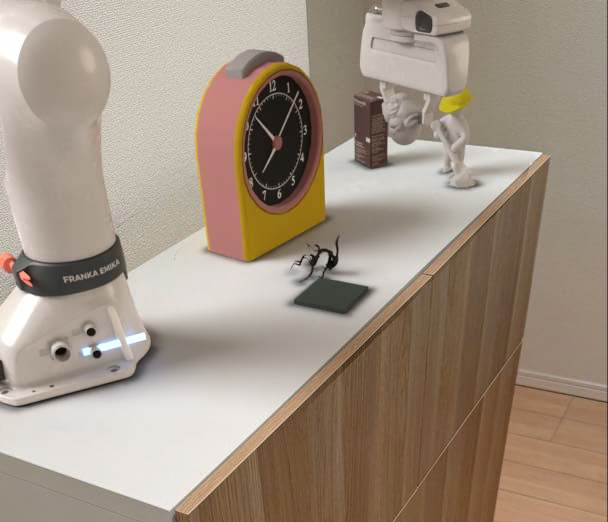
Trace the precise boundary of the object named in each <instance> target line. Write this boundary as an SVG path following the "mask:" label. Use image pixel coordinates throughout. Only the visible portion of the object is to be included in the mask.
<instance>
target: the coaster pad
mask: <svg viewBox="0 0 608 522" xmlns="http://www.w3.org/2000/svg"><path fill="white" fill-rule="evenodd" d="M321 277H322V276H320V277H318V278H317V279H316V280H315V281H314V282H313V283H311V284H310V285H309V286H308V287H307V288H306V289H305V290H303V291H302V292H301V293H300V294H298V295H297V296H296V297H295V298H294V299H293V303H294V304H295V305H299V306H304V307H309V308H314V309H318V310H324V311H329V312H332V313H339V314H343V315H344V314H345V313H347V311H349V310H350V308H352V307H353V306H354V305H355V304H356V303H357V302H358V301H359V300H360V299H361V298H362V297H363V296H364V295H366V293H367V292H368V291H369V285H363V284H359V283H358V284H357V283H352V282H349V281H348V282H347V281H342V280H338V279H337V280H336V279H331V278H326V277H324V278H321Z"/></svg>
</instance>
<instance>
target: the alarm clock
mask: <svg viewBox="0 0 608 522" xmlns="http://www.w3.org/2000/svg"><path fill="white" fill-rule="evenodd" d="M322 112H323V111H322V106H321V103H320V99H319V95H318V91H317V90H316V88H315V86H314V84H313V82H312V80H311V79H310V77H309V76H308V74H306V72H304V70H302V68H301V67H299V66H297V65H294V64H292V63H290V62H287V61H285V57H284V55H283V54H281V53H279V52H276V51H272V50H265V49H255V48H251V49H246V50H243V51H241V52H240V53H238V54H237V55H236V56H234V58H232V60H230V61H228V62H226V63H224V64H223V65H221V67H220V68H219V69H218V70H217V71H216V72H215V74H214V75H213V76H212V77H211V78H210V80H209V81H208V83H207V86H206V87H205V89H204V91H203V93H202V96H201V99H200V102H199V105H198V109H197V112H196V119H195V126H194V149H195V150H194V151H195V160H196V167H197V174H198V175H197V176H198V183H199V190H200V197H201V205H202V213H203V219H204V220H203V221H204V225H205V226H204V227H205V234H206V240H207V241H206V242H207V250H208V251H209V252H211V253H215V254H218V255H222V256H224V257H225V256H226V257H229V258H232V259H235V260H238V261H239V260H240V261H243V262H252V261H254V260H255V259H257V258H259V257H261V256H262V255H264V254H266V253H268V252H270V251H272V250H274V249H275V248H277V247H279V246H280V245H283V244H284V243H286V242H288V241H289V240H291V239H293V238H294V237H297V236H298V235H300V234H302V233H304V232H305V231H308V230H309V229H311V228H313V227H315V226H316V225H319V224H320V223H321V222H324V221H325V220H326V187H325V186H326V185H325V182H326V181H325V150H324V149H325V147H324V122H323V113H322Z"/></svg>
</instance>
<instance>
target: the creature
mask: <svg viewBox="0 0 608 522" xmlns="http://www.w3.org/2000/svg"><path fill="white" fill-rule="evenodd" d="M340 237H341V235H337V237H336V238H335V242H334V246H335V254H334V251H332V250H331V249H329V248H325V247H322V248H320V247H321V246H320V245H319V244H316V243H315V244H314V246H315V247H316V248H317V249H314V248H313V247H312V246H311V245H310V244H308V243H307V242H305V244H306V245H307V247H308V249H309V251H311V250H310V248H311V249H312V250H313V251H314V252H315V253H316V254H313V253H309V255H308V254H303V255H302V256H301V258H300V260H294V262H293V263H292V265H291V266H290V271H291V270H292V269H293V266H294V265H297V266H298V267H301V266H302V263H303V260H304V259H306V260H307V261H308V263H307V264H306V265H307V266H309V267H310V272H309V274H308V276H306V277H304V278H302V279H301V280H299V281H298V283H303V282H304V281H306V280H308V279H309V278H310V277H311V278H312V275H313V274H314V270H315V269H317V268H319V267H322V268H323V269H324V270H323V271H322V275H318V276H316V278H320V277H321V278H325V272H326V271H327V270H328V271H329V272H331V270H332V269H334V268H336V267H337V266H338V264H339V260H340V258H339V253H340V251H339V250H340V249H339V239H340ZM322 253H327V256H328V258H327V261H326V264H325V267H324V266H323V265H321V266H320V265H319V266H316V265H317V263H318V261H319V259H320V258H321V255H322ZM306 256H307V257H306ZM315 266H316V267H315Z"/></svg>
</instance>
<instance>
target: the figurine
mask: <svg viewBox="0 0 608 522" xmlns="http://www.w3.org/2000/svg"><path fill="white" fill-rule="evenodd" d="M472 101H473V95H472V93H471V91H470V90H469V89H468V88H467V87H465V88H464V90H463V91H462V93H461V94H459V95H455V96H451V97H441V99H440V102H439V104H438V105H439V106H438V109H439V111H440V112H442V113H444V114H445V115H444V116H442V117H441V118H440V119H436V120H433V123H432V124H431V125H430V129H431V130H432V131H433V138H434V139H435V140H437V141H441V143H442V145H443V147H444V149H443V169H442V173H443V174H446V173H449V172H450V171H451V170H452V171H453V173H454V175H453V176H452V177H451V178H450V181H449V185H450V187H452V188H457V189H467V188H470V187H471V188H472V187H475V186H476V183H477V182H476V181H475V180H474V179H473V178H472V175H471V172H470V170H468V167H467V165H466V164H465V163H464V162H465V156H466V155H465V154H466V146H467V145H468V144H469V142H470V139H471V131H470V126H469V122H468V121H467V119H466V118H465V117H464V116H463V112H464V111H465V110H466V108H467V106H468V105H469V104H471V103H472ZM445 132H446V133H447V134H446V135H445ZM452 164H453V165H452ZM452 166H453V167H452Z"/></svg>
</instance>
